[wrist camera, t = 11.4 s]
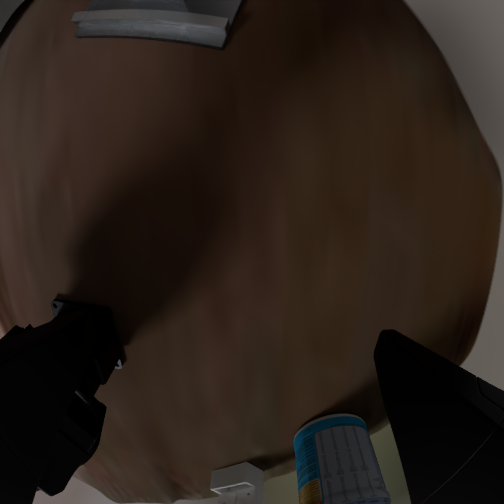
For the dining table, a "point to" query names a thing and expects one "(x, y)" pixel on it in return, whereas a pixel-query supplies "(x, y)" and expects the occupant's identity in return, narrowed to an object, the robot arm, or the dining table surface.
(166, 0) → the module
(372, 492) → the beverage bottle
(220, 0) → the din rail
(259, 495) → the white angled block
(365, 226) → the dining table surface
